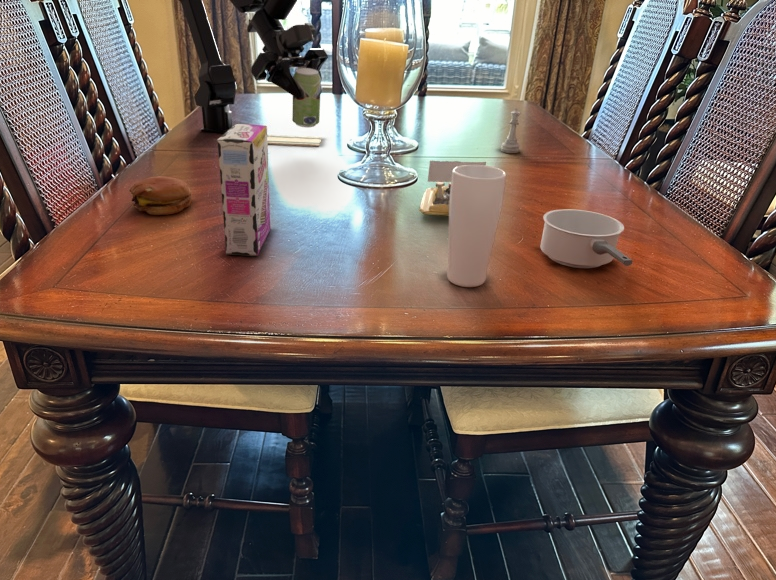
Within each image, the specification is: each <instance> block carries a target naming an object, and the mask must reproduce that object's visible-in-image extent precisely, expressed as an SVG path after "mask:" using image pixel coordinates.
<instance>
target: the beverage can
mask: <svg viewBox="0 0 776 580" xmlns="http://www.w3.org/2000/svg"><path fill="white" fill-rule="evenodd" d="M292 77H293V79H294V81H295V82H296V85H297V87H298V89H299V90H300V92H301V95H302V97H301V98H300V99H297V98H296V97H294V96H293V95H292V118H291V119H292V122H293V123H294V124H295V125H296V126H298V127H301V128H314V127H316V126H317V125H318V124H319V123H320V111H321V94H320V93H321V91H322V90H321V87H322V86H321V85H322V78H321V76H320V73H319V70H318V71H317V70H315V69H311V68H295V72H294V74H293V75H292Z"/></svg>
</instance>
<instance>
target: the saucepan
mask: <svg viewBox="0 0 776 580" xmlns="http://www.w3.org/2000/svg"><path fill="white" fill-rule="evenodd" d="M542 218H543V221H544V225H543V231H542V236H541V241H540V250H541V252H542V253H543V254H544V255H546V256H547V257H548V258H549V259H550V260H551V261H553V262H555V263H557V264H560V265H563V266H567V267H571V268H578V269H595V268H598V267H601V266H602V265H607V264H609V263H611V262H612V261H613V260H614V259H615V260H617V261H618V262H619V263H621V265H624V266H625V267H630V266H631V265H632V264H633V262H634V261H633V260H632V258H630V257H628V256H627V255H625V254H624V252H622V251H620V250H619V249H617V246H618V242H619V239H620V235H621V233H623V232H624V230H625V226H624V224H623V223H622V222H621V221H620V220H618V219H616V218H614V217H612V216H609V215H607V214H603V213H600V212H595V211H591V210H585V209H575V208H573V209H572V208H570V209H568V208H566V209H562V208H561V209H554V210H550V211H547V212H545V213H544V214H543V216H542Z"/></svg>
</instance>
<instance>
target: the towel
mask: <svg viewBox="0 0 776 580" xmlns="http://www.w3.org/2000/svg"><path fill="white" fill-rule="evenodd" d="M322 140H323V137H320V136H297V135H275V134H274V135H273V134H267V145H274V146H275V145H277V146H300V147H302V146H303V147H320V145H321V142H322Z"/></svg>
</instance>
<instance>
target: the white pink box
mask: <svg viewBox="0 0 776 580" xmlns="http://www.w3.org/2000/svg"><path fill="white" fill-rule="evenodd" d="M232 126H233V127H232V128H231V129H230V130H229V131H227V132H225V133H223V134H222V135H220V137H219V138H217V140H216V142H217V151H218V165H219V166H218V167H219V179H220V191H221V192H220V193H221V204H222V217H223V229H224V240H225V242H224V243H225V254H226V255H229V256H231V255H232V256H246V257H258V256H259V254H260V252H261V249H262V248H263V245H264V243H265V242H266V239H267V238H268V236H269V233H270V232H271V205H270V183H269V182H270V181H269V180H270V179H269V148H268V144H267V135H268V126H267V125H262V124H252V123H251V124H249V123H236V124H234V125H232Z"/></svg>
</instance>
